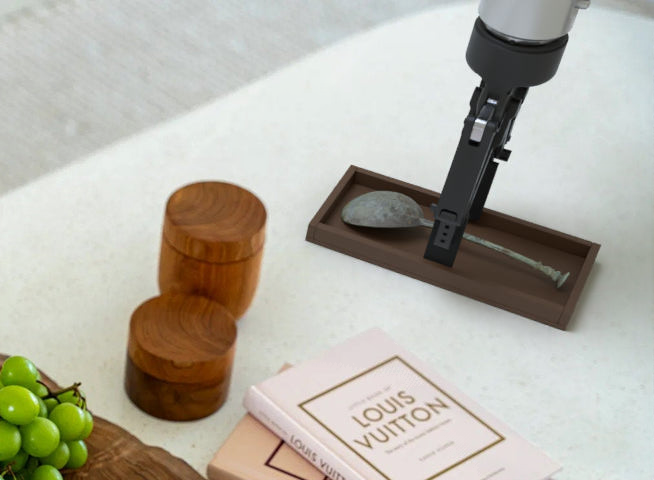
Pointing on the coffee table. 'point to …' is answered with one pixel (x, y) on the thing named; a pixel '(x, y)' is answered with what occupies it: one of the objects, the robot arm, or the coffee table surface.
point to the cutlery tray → (463, 251)
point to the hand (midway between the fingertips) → (451, 240)
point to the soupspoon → (418, 223)
